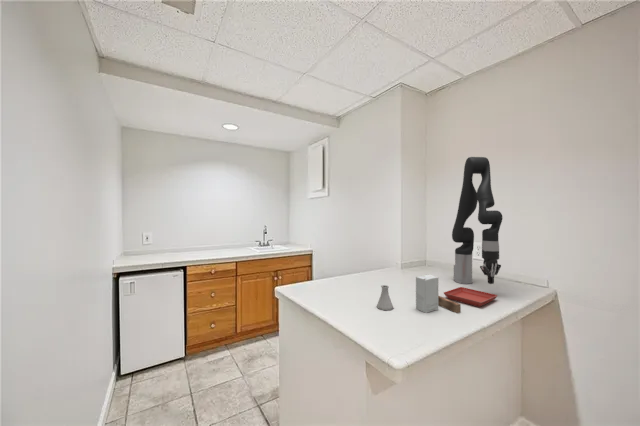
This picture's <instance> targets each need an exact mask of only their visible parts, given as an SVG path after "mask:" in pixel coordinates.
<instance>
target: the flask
mask: <svg viewBox="0 0 640 426" xmlns="http://www.w3.org/2000/svg"><path fill="white" fill-rule="evenodd" d="M380 287H381V293H380V297H379V299H378V301H377V304H376V306H375V307H376V308H377V309H379V310H382V311H392V310H393V309H394V306H393V303H392V299H391V298H390V294H389V285H386V284H384V285H383V284H382V285H380Z"/></svg>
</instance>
